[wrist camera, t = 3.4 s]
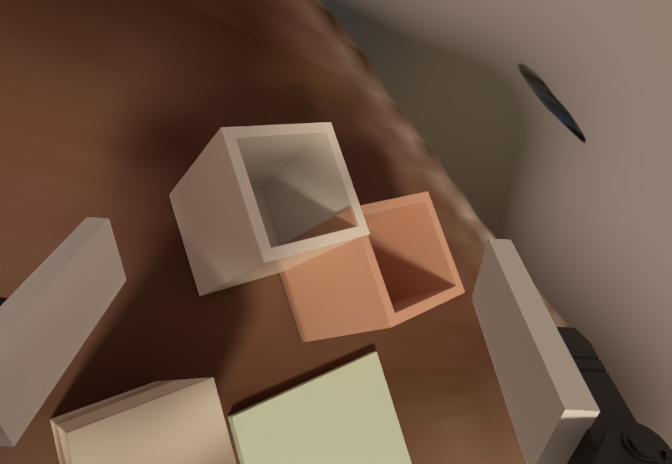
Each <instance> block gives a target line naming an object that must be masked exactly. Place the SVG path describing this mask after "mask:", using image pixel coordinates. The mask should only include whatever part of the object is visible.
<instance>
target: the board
mask: <svg viewBox="0 0 672 464" xmlns="http://www.w3.org/2000/svg"><path fill="white" fill-rule="evenodd" d="M228 419H229V423H230V427H231V431H232V434H233V438H234V442H235V446H236V450H237V453H238V457H239V461H240V464H412V463H411V460H410V457H409V453H408V450H407V447H406V444H405V441H404V437H403V434H402V431H401V428H400V425H399V421H398V418H397V415H396V412H395V409H394V405H393V402H392V399H391V396H390V393H389V389H388V386H387V383H386V380H385V377H384V373H383V370H382V367H381V364H380V361H379V357H378V354H377V352H370V353H368V354H366V355H364V356H361V357H359V358H357V359H355V360H352V361H350V362H348V363H346V364H344V365H341V366H339V367H337V368H335V369H332V370H330V371H328V372H326V373H324V374H321V375H319V376H317V377H315V378H312V379H310V380H308V381H306V382H303V383H301V384H299V385H297V386H295V387H292V388H290V389H288V390H286V391H283V392H281V393H279V394H277V395H275V396H272V397H270V398H268V399H266V400H263V401H261V402H259V403H257V404H255V405H252V406H250V407H248V408H246V409H243V410H241V411H239V412H237V413H235V414H232V415H230V416H228Z"/></svg>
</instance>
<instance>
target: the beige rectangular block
mask: <svg viewBox="0 0 672 464" xmlns="http://www.w3.org/2000/svg"><path fill="white" fill-rule="evenodd" d="M50 421H51V426H52V431H53V435H54V440H55V445H56V450H57V454H58V459H59V464H236V461H235V457H234V454H233V450H232V446H231V442H230V438H229V434H228V431H227V427H226V423H225V419H224V415H223V412H222V408H221V404H220V400H219V396H218V393H217V389H216V385H215V381H214V377H211V378H196V379H181V380H167V381H155V382H152V383H150V384H147V385H144V386H141V387H138V388H136V389H133V390H130V391H127V392H125V393H122V394H119V395H116V396H113V397H111V398H108V399H105V400H102V401H99V402H97V403H94V404H91V405H88V406H85V407H83V408H80V409H77V410H74V411H71V412H69V413H66V414H63V415H60V416H57V417H55V418H52V419H50Z"/></svg>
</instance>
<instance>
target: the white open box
mask: <svg viewBox="0 0 672 464" xmlns="http://www.w3.org/2000/svg"><path fill="white" fill-rule="evenodd" d="M169 197H170V201H171V204H172V207H173V210H174V214H175V217H176V220H177V224H178V227H179V230H180V234H181V237H182V240H183V244H184V247H185V250H186V254H187V257H188V260H189V264H190V267H191V270H192V274H193V277H194V280H195V283H196V287H197V290H198V293H199V296H203V295H206V294H210V293H213V292H216V291H220V290H223V289H226V288H230V287H233V286H237V285H240V284H243V283H247V282H250V281H254V280H257V279H260V278H264V277H267V276H271V275H274V274H277V273H280V272H283V271H285V270H287V269H289V268H292V267H294V266H296V265H298V264H300V263H303V262H305V261H307V260H309V259H312V258H314V257H316V256H318V255H321V254H323V253H325V252H327V251H330V250H332V249H334V248H336V247H338V246H341V245H343V244H345V243H347V242H350V241H352V240H354V239H356V238H359V237H361V236H365V235H369V234H370V232H369V230H368V227H367V224H366V221H365V218H364V215H363V212H362V210H361V207H360V204H359V201H358V198H357V195H356V192H355V190H354V187H353V184H352V181H351V178H350V175H349V172H348V170H347V167H346V164H345V161H344V158H343V155H342V152H341V150H340V147H339V144H338V141H337V138H336V135H335V132H334V129H333V127H332V124H331V122H321V123H300V124H280V125H259V126H239V127H221V128H220V129H219V130H218V132H217V133H216V134H215V136H214V137H213V138H212V139H211V141H210V142H209V143H208V145H207V146H206V147H205V149H204V150H203V151H202V152H201V154H200V155H199V156H198V158H197V159H196V160H195V162H194V163H193V164H192V166H191V167H190V168H189V169H188V171H187V172H186V173H185V175H184V176H183V177H182V179H181V180H180V181H179V182H178V184H177V185H176V186H175V188H174V189H173V190H172V192H171V193H170V194H169ZM351 207H352V208H353V211H354V214H355V217H356V220H357V222H358V225H359V226H357V227H353V228H349V229H345V230H341V231H337V232H333V233H329V234H325V235H321V236H317V237H313V238H309V239H305V240H301V241H297V242H293V243H289V244H285V245H283V244H284V243H286V242H288V241H290V240H292V239H293V238H295V237H297V236H299V235H301V234H303V233H304V232H306V231H308V230H310V229H312V228H314V227H315V226H317V225H319V224H321V223H323V222H324V221H326V220H328V219H330V218H332V217H334V216H335V215H337V214H339V213H341V212H343V211H345V210H346V209H348V208H351Z"/></svg>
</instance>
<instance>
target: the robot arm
mask: <svg viewBox="0 0 672 464" xmlns="http://www.w3.org/2000/svg"><path fill="white" fill-rule="evenodd" d="M125 282H126V276H125V273H124V269H123V266H122V262H121V259H120V255H119V252H118V248H117V245H116V241H115V238H114V234H113V231H112V227H111V224H110V220H109V218H93V217H87V218H86V219H85V220H84V221H83V222H82V223H81V224H80V225H79V226H78V227H77V228H76V229H75V230H74V231H73V232H72V233H71V234H70V235H69V236H68V237H67V238H66V239H65V240H64V241H63V242H62V243H61V244H60V245H59V246H58V247H57V248H56V250H55V251H54V252H53V253H52V254H51V255H50V256H49V257H48V258H47V259H46V260H45V261H44V262H43V263H42V264H41V265H40V266H39V267H38V268H37V269H36V270H35V271H34V272H33V273H32V274H31V275H30V276H29V277H28V278H27V279H26V280H25V281H24V282H23V283H22V284H21V286H20V287H19V288H18V289H17V290H16V291H15V292H14V293H13V294H12V295H11V296H10V297H9V298H0V446H13V447H14V446H15V445H16V443H17V442H18V440H19V439H20V437H21V436H22V434H23V433H24V431H25V430H26V428H27V427H28V425H29V424H30V422H31V421H32V419H33V418H34V416H35V415H36V413H37V412H38V410H39V409H40V407H41V406H42V405H43V403H44V402H45V400H46V399H47V397H48V396H49V394H50V393H51V391H52V390H53V388H54V387H55V385H56V384H57V382H58V381H59V379H60V378H61V376H62V375H63V373H64V372H65V370H66V369H67V367H68V366H69V364H70V363H71V362H72V360H73V359H74V357H75V356H76V354H77V353H78V351H79V350H80V348H81V347H82V345H83V344H84V342H85V341H86V339H87V338H88V336H89V335H90V333H91V332H92V330H93V329H94V327H95V326H96V324H97V323H98V322H99V320H100V319H101V317H102V316H103V314H104V313H105V311H106V310H107V308H108V307H109V305H110V304H111V302H112V301H113V299H114V298H115V296H116V295H117V293H118V292H119V290H120V289H121V287H122V286H123V284H124V283H125ZM472 302H473V305H474V308H475V311H476V314H477V317H478V320H479V323H480V326H481V329H482V332H483V335H484V338H485V341H486V344H487V347H488V350H489V354H490V357H491V360H492V363H493V366H494V369H495V372H496V375H497V378H498V381H499V384H500V387H501V390H502V393H503V396H504V399H505V402H506V406H507V409H508V412H509V415H510V418H511V421H512V424H513V427H514V430H515V433H516V436H517V439H518V442H519V445H520V448H521V451H522V454H523V457H524V461H525V464H672V450H671V449H670V447H669V446H668V445H667V444H666V442H665V441H664V440H663V439H662V438H661V437H660V436H659V435H658V434H656V433H655V432H654V431H652V430H651V429H649V428H648V427H646V426H643V425H641V424H639V423H637V421H636V420H635V418H634V417H633V415H632V413H631V412H630V410H629V408H628V407H627V405H626V403H625V401H624V400H623V398H622V396H621V395H620V393H619V391H618V389H617V388H616V386H615V384H614V383H613V381H612V379H611V378H610V376H609V374H608V373H606V369H605V367H604V366H603V364H602V362H601V361H600V360H599V359H598V355H597V354H596V352H595V350H594V349H593V347H592V345H591V343H590V342H589V341H588V340H587V339H586V338H585V337H584V336H583V335H582V334H581V333H579V332H578V331H577V330H576V329H575V328H566V327H556V326H555V324H554V322H553V320H552V318H551V316H550V314H549V312H548V310H547V308H546V306H545V304H544V303H543V301H542V299H541V297H540V295H539V293H538V291H537V289H536V287H535V285H534V283H533V282H532V280H531V278H530V276H529V274H528V272H527V270H526V268H525V266H524V264H523V262H522V261H521V259H520V257H519V255H518V253H517V251H516V249H515V247H514V245H513V243H512V241H511V240H505V239H488V242H487V245H486V249H485V252H484V256H483V260H482V263H481V267H480V270H479V274H478V278H477V281H476V285H475V288H474V292H473V295H472Z"/></svg>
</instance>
